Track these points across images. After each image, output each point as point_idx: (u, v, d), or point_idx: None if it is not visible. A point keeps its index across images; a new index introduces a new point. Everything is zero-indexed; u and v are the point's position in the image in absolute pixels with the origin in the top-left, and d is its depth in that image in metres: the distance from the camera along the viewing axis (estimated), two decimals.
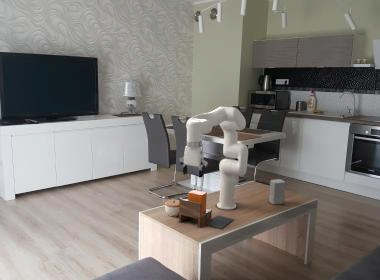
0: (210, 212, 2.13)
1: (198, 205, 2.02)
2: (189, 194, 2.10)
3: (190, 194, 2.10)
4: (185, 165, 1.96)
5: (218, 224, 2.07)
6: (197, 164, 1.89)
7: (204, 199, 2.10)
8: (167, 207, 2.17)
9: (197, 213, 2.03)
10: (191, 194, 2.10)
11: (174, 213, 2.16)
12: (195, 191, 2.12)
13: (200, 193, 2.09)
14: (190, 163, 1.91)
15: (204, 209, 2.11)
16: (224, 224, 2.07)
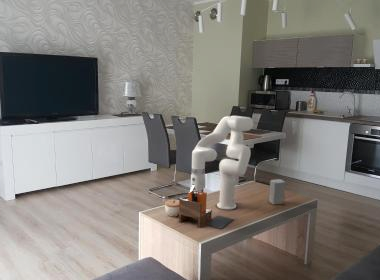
0: (210, 212, 2.13)
1: (198, 205, 2.02)
2: (189, 194, 2.10)
3: (190, 194, 2.10)
4: None
5: (218, 224, 2.07)
6: None
7: (204, 199, 2.10)
8: (167, 207, 2.17)
9: (197, 213, 2.03)
10: None
11: (174, 213, 2.16)
12: None
13: (200, 193, 2.09)
14: None
15: (204, 209, 2.11)
16: (224, 224, 2.07)
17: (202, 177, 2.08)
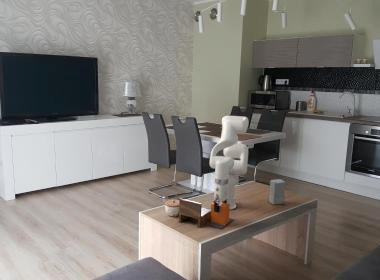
0: (210, 212, 2.13)
1: (198, 205, 2.02)
2: (212, 206, 2.08)
3: (213, 206, 2.08)
4: None
5: (218, 224, 2.07)
6: None
7: (227, 211, 2.08)
8: (167, 207, 2.17)
9: (197, 213, 2.03)
10: None
11: (174, 213, 2.16)
12: None
13: (224, 205, 2.07)
14: None
15: (227, 221, 2.09)
16: None
17: (225, 187, 2.06)
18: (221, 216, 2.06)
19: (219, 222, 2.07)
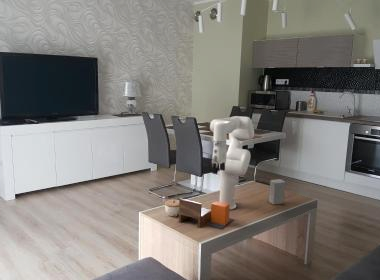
0: (210, 212, 2.13)
1: (198, 205, 2.02)
2: (212, 206, 2.08)
3: (213, 206, 2.08)
4: None
5: (218, 224, 2.07)
6: None
7: (227, 211, 2.08)
8: (167, 207, 2.17)
9: (197, 213, 2.03)
10: (214, 206, 2.08)
11: (174, 213, 2.16)
12: (218, 202, 2.10)
13: (224, 205, 2.07)
14: None
15: (227, 221, 2.09)
16: None
17: (223, 149, 2.10)
18: (221, 216, 2.06)
19: (219, 222, 2.07)
